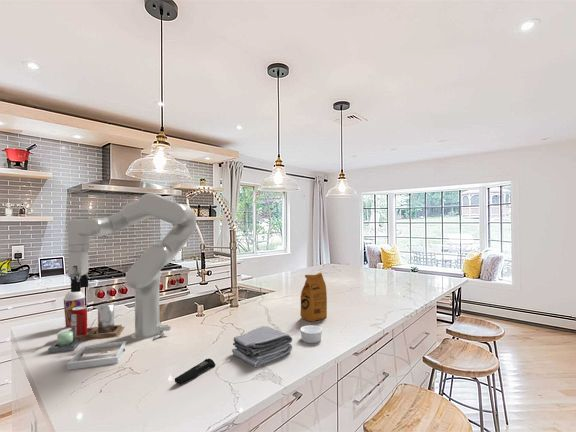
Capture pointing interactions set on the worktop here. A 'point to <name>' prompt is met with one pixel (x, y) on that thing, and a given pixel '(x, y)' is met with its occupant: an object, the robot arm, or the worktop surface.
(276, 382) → the worktop surface
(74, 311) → the soda can
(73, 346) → the button box
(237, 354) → the towel
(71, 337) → the button
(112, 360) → the white square frame
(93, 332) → the wooden compartment tray
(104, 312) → the steel billet
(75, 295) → the smoothie
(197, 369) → the electric trimmer
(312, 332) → the ramekin
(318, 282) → the coffee package
